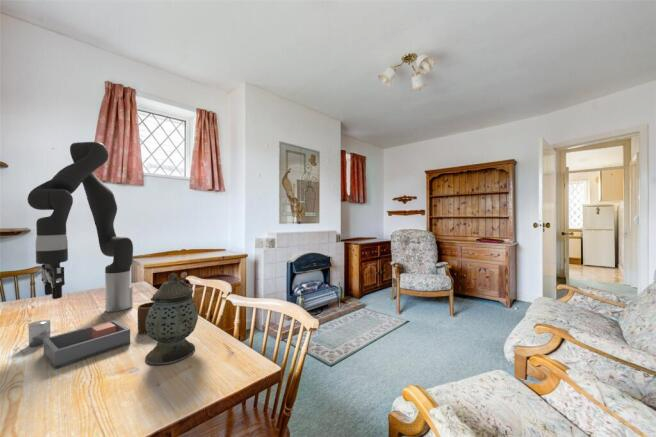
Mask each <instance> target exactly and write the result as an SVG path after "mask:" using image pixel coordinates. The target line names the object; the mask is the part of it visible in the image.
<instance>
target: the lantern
mask: <svg viewBox="0 0 656 437" xmlns="http://www.w3.org/2000/svg"><path fill="white" fill-rule="evenodd" d="M167 280H168V281H166V282H165V281H164V282H163V283H162V284H161V285H160V287H159V288H158V290H156V292H155V293H154V294H152V297H150V301H151V302H155V303H154V304H153V306H152V307H151V308H150V309H149V312H148V315H147V318H146V320H145V329H146V331H147V333H146V334H147V336H148V337H149V338H150V339H152V340H153V341H156V342H157V343H156V345H155V346H154V347H153V349H151V351H150V352H148V353H147V354H146V355H145V358H144V362H145V363H146V365H149V366H152V367H153V366H154V367H155V366H156V367H161V366H162V367H163V366H169V365H173V364H176V363H179V362H182V361H184V360H186V359H188V358H189V357H191V356H192V355H193V354H194V352H195V351H196V346H195V344H194V343H193V342H191V341H189V340H187V339H186V338H188V337H189V336H190V335H191V334H192V333H193V332H194V331H195V328H196V325H197V322H198V320H199V316H198V314H199V312H198V311H199V310H198V307H197V305H196V302H195V299H194V297H193V293H194V289H193V288H190V287H189V284H188V283H186V282H185V281H184V280H182V279H181V280H180V279H179V277H178V274H177V273H174V272H173V273H170V274H169V275H168V277H167Z"/></svg>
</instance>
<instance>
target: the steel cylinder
mask: <svg viewBox="0 0 656 437" xmlns="http://www.w3.org/2000/svg"><path fill="white" fill-rule="evenodd" d="M27 328H28V347H29V348H35V347H41V346H43V339H45V338H48V337H51V320H50V319H42V320H37V321H33V322H31V323H29V324H28V327H27Z"/></svg>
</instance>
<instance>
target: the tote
mask: <svg viewBox="0 0 656 437" xmlns="http://www.w3.org/2000/svg"><path fill="white" fill-rule="evenodd" d="M106 323H112V324H114V325H116V333H112V334H109V335H105V336H102V337H99V338H95V339H92V327H95V326H99V325H103V324H106ZM128 345H131V329H130V328H129V327H128V326H125V325H123V324H122V323H120V322H118V321H117V320H114V319H113V320H110V321H107V322H106V321H105V322H103V323H99V324H94V325H91V326H86V327H83V328H79V329H76V330H72V331H68V332H64V333H59V334H57V335H53V336H52V335H51V336H50V337H48V338H45V339H43V345H42V346H43V347H42V348H43V356H44V357H45V359H46V360H47V361H48V362H49V364H50V365H51V367H52V368H53V369H54V370H57V369H60V368H64V367H66V366H70V365H73V364H75V363H78V362H82V361H84V360H87V359H91V358H93V357H96V356H99V355H102V354H104V353H107V352H111V351H114V350H116V349H120V348H123V347H126V346H128Z"/></svg>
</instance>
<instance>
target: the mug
mask: <svg viewBox="0 0 656 437" xmlns="http://www.w3.org/2000/svg"><path fill="white" fill-rule="evenodd" d="M154 303H155V302H153V301H151V302H150V301H149V302H146V303H143V304H142V303H141V304H139V305H138V307H137V332H138V333H139V334H142V335H143V334H148V333H147V331H146V329H145V320H146V318H147V315H148V312H149V309H150V308H151V307H152V306H153V304H154Z"/></svg>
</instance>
